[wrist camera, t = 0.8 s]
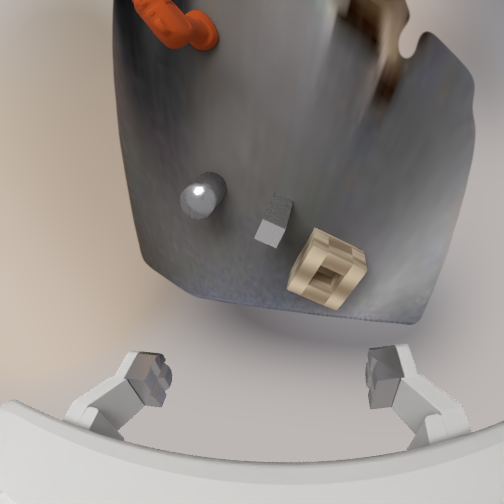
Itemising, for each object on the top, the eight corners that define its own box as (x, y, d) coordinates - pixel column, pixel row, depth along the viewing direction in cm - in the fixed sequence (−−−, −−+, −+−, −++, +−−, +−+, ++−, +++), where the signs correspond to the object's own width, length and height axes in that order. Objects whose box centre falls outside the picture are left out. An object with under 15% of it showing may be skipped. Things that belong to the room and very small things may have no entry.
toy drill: (165, -35, 28) (117, -54, 17) (226, 39, 37) (194, 37, 26) (143, -18, 30) (90, -29, 19) (201, 55, 39) (161, 62, 28)
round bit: (201, 167, 49) (184, 181, 43) (230, 179, 49) (217, 194, 43) (193, 194, 52) (176, 210, 46) (221, 206, 52) (207, 224, 47)
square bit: (274, 192, 49) (262, 219, 41) (293, 201, 49) (285, 229, 41) (266, 209, 51) (254, 238, 42) (285, 217, 51) (276, 248, 43)
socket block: (314, 227, 50) (313, 245, 45) (364, 251, 51) (367, 271, 46) (290, 269, 56) (286, 289, 51) (336, 289, 56) (336, 310, 51)
